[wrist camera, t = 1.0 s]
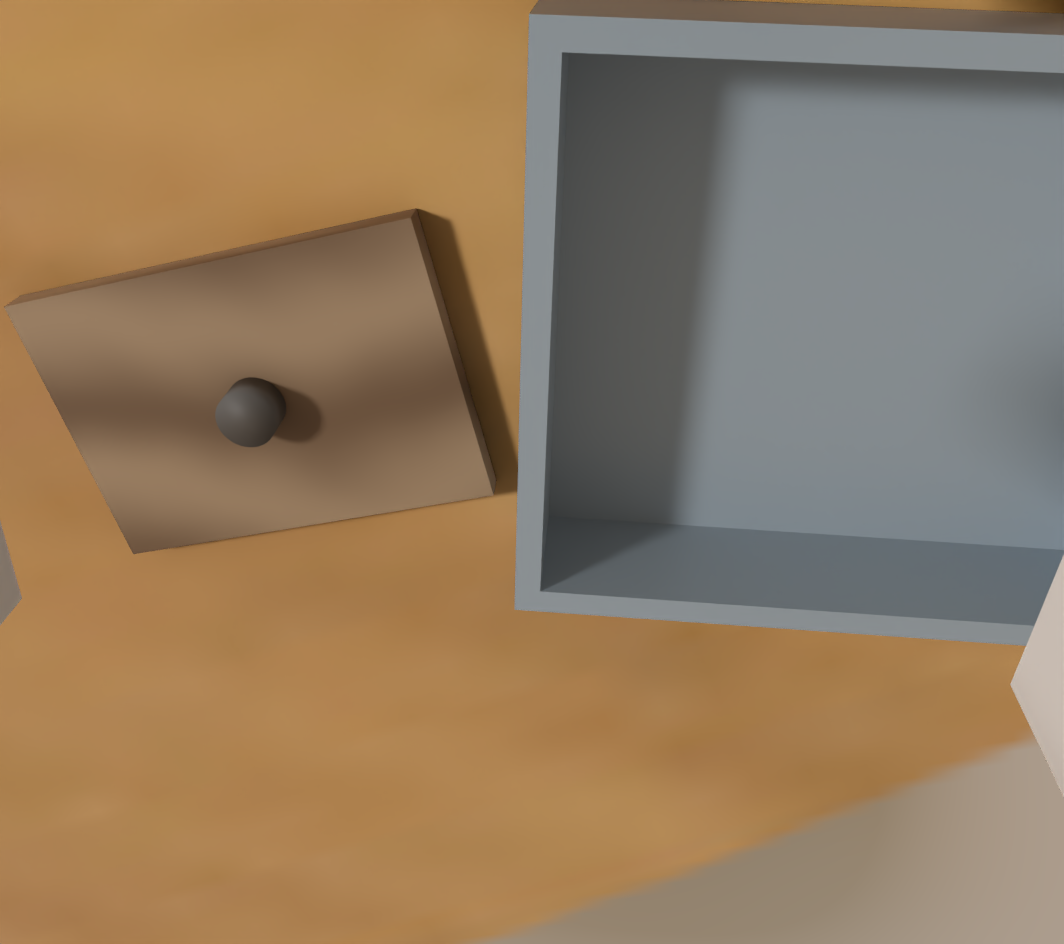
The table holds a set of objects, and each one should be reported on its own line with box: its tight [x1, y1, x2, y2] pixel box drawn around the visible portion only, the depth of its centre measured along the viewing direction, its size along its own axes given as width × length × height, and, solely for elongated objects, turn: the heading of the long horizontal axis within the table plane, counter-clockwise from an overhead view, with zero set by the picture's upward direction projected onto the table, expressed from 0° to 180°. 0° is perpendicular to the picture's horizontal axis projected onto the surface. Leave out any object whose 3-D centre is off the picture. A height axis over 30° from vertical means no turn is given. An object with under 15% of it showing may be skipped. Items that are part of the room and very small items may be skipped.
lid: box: [4, 209, 497, 554], centre depth 34 cm, size 10×14×2 cm
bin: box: [515, 0, 1064, 646], centre depth 29 cm, size 18×20×5 cm
